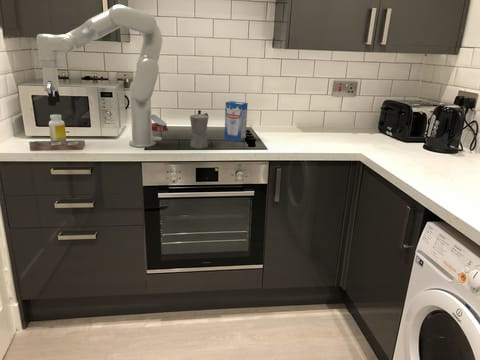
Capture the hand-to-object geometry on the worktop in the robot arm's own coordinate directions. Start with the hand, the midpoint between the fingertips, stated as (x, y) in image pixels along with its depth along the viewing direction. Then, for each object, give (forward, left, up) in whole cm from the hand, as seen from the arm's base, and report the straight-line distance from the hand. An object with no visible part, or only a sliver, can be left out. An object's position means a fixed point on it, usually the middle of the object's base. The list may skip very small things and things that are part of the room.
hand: (54, 103), depth 176 cm
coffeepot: (-66, +4, -20) cm, 69 cm away
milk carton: (-87, -7, -20) cm, 89 cm away
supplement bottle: (0, 0, -18) cm, 18 cm away
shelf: (0, +1, -20) cm, 20 cm away
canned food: (-48, -35, -21) cm, 63 cm away
